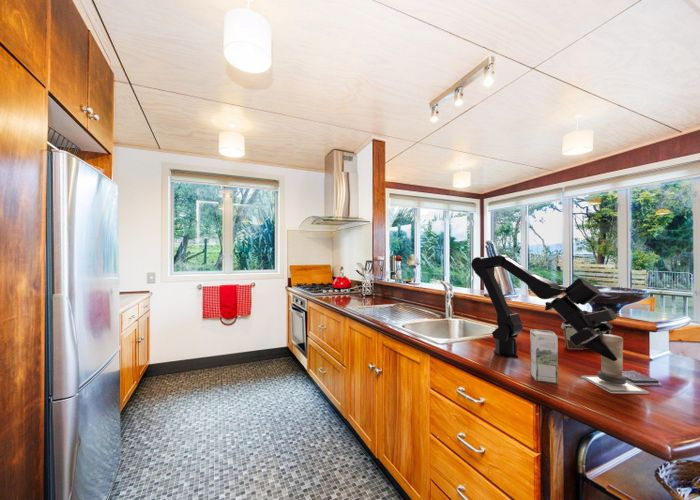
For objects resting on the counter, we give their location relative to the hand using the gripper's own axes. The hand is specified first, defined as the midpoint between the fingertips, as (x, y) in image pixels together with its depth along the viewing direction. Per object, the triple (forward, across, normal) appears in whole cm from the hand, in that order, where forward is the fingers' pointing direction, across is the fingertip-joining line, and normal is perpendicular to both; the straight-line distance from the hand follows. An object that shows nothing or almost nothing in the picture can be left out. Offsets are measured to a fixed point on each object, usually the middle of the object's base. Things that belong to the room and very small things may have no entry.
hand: (618, 358), depth 81 cm
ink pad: (+6, +10, +5) cm, 13 cm away
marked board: (+5, 0, +6) cm, 8 cm away
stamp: (+4, 0, +6) cm, 7 cm away
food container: (-9, +34, +21) cm, 41 cm away
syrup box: (-4, -12, +16) cm, 21 cm away
